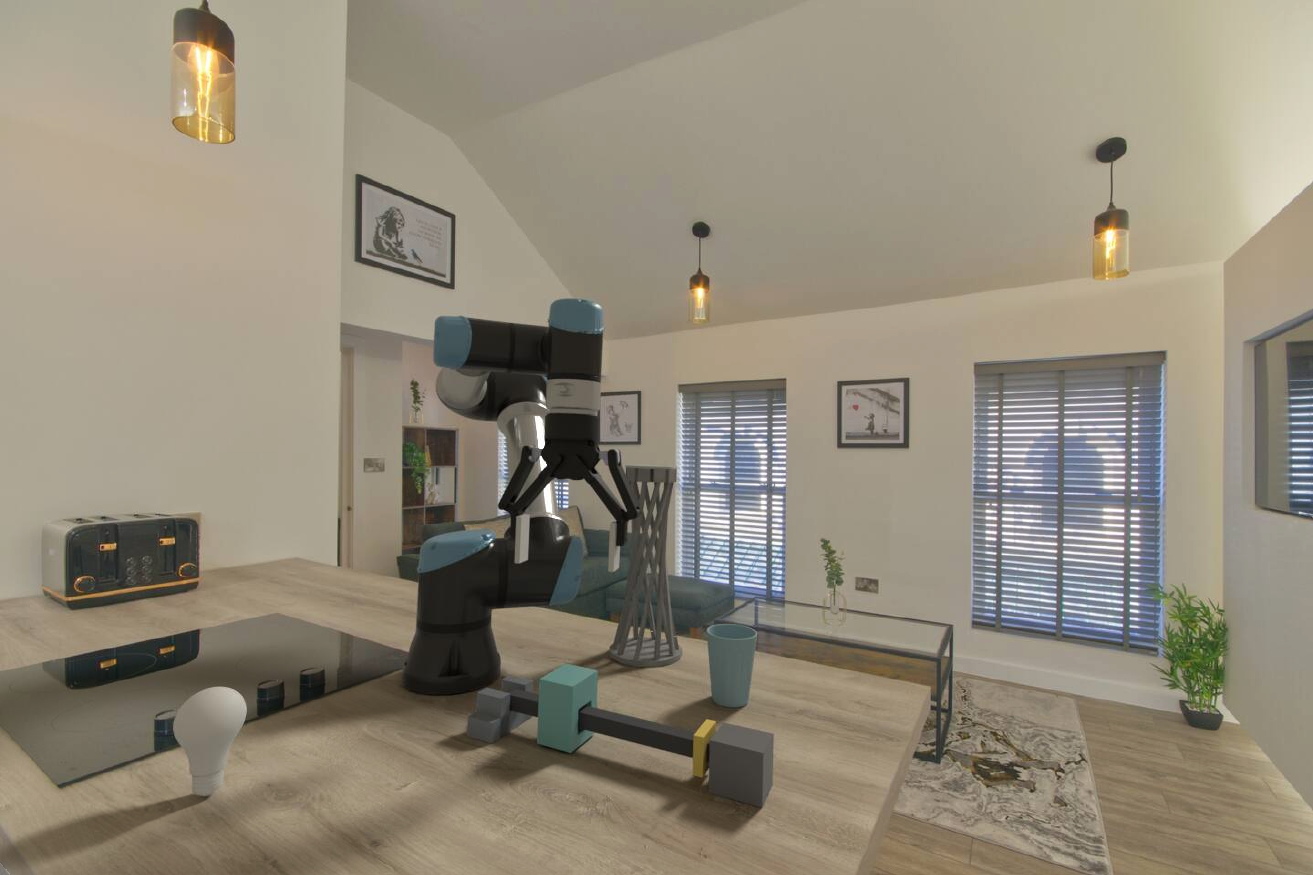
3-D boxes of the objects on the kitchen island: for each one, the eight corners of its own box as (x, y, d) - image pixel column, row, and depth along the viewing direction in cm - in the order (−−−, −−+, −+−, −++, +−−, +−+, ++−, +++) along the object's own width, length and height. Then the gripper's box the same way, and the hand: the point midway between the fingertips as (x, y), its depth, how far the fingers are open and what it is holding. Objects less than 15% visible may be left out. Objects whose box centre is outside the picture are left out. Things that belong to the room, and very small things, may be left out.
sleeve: (537, 743, 72) (539, 678, 72) (563, 723, 77) (565, 663, 78) (570, 752, 70) (573, 686, 70) (595, 731, 75) (597, 670, 75)
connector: (708, 792, 63) (709, 739, 63) (721, 771, 67) (723, 722, 68) (762, 807, 61) (763, 753, 61) (772, 784, 65) (773, 733, 65)
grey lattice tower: (666, 639, 115) (671, 465, 116) (693, 662, 103) (699, 467, 104) (600, 645, 110) (606, 463, 111) (621, 670, 98) (627, 465, 99)
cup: (766, 706, 85) (767, 635, 86) (721, 714, 82) (722, 641, 83) (738, 687, 92) (739, 621, 93) (696, 694, 89) (698, 626, 90)
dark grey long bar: (500, 722, 75) (501, 688, 75) (521, 708, 79) (522, 676, 79) (753, 791, 61) (754, 749, 61) (763, 771, 65) (764, 732, 65)
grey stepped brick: (467, 736, 74) (468, 696, 74) (516, 706, 83) (517, 671, 83) (491, 743, 72) (493, 703, 72) (539, 711, 81) (540, 676, 82)
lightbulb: (196, 778, 63) (202, 677, 63) (255, 777, 63) (260, 677, 64) (152, 813, 57) (159, 701, 57) (218, 812, 57) (223, 701, 58)
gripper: (477, 408, 79) (470, 563, 78) (654, 413, 73) (647, 579, 73) (503, 411, 86) (497, 553, 86) (665, 416, 81) (660, 567, 80)
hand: (566, 565), depth 79 cm, fingers open, 13 cm apart
